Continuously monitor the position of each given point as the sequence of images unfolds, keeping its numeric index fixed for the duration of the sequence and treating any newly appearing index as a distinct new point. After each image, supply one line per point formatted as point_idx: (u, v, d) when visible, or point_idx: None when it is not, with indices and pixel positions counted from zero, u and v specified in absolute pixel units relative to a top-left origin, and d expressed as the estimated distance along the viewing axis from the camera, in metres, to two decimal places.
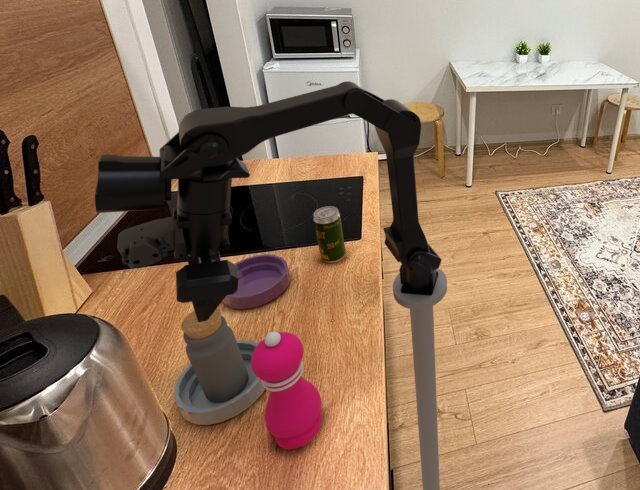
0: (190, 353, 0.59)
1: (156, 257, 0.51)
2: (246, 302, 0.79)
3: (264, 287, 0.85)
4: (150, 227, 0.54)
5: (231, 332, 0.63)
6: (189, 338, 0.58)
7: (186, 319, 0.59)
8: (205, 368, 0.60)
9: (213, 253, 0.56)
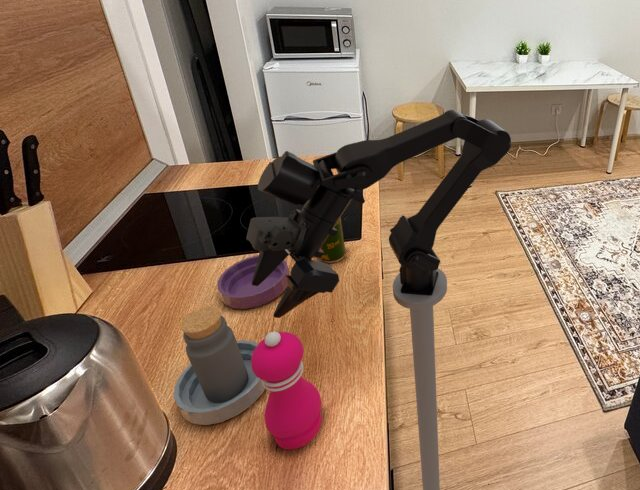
0: (190, 353, 0.59)
1: (287, 245, 0.61)
2: (246, 302, 0.79)
3: (264, 287, 0.85)
4: (276, 221, 0.63)
5: (231, 332, 0.63)
6: (189, 338, 0.58)
7: (186, 319, 0.59)
8: (205, 368, 0.60)
9: (311, 257, 0.66)
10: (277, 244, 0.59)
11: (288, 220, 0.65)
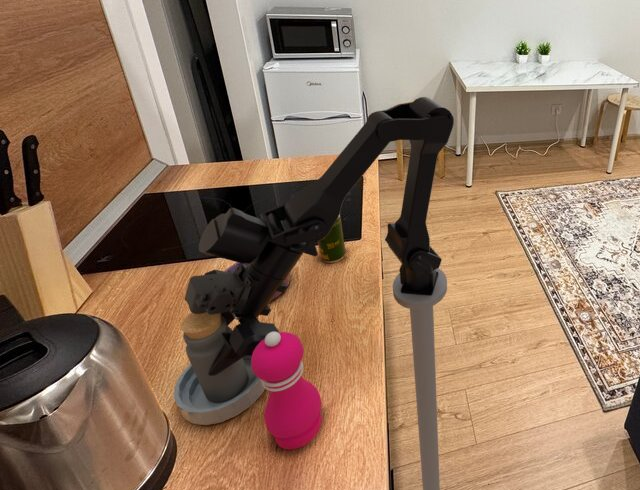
0: (190, 353, 0.59)
1: (227, 307, 0.57)
2: None
3: None
4: (218, 279, 0.60)
5: None
6: (189, 338, 0.58)
7: (186, 319, 0.59)
8: (205, 368, 0.60)
9: (256, 315, 0.63)
10: (215, 308, 0.56)
11: (232, 277, 0.61)
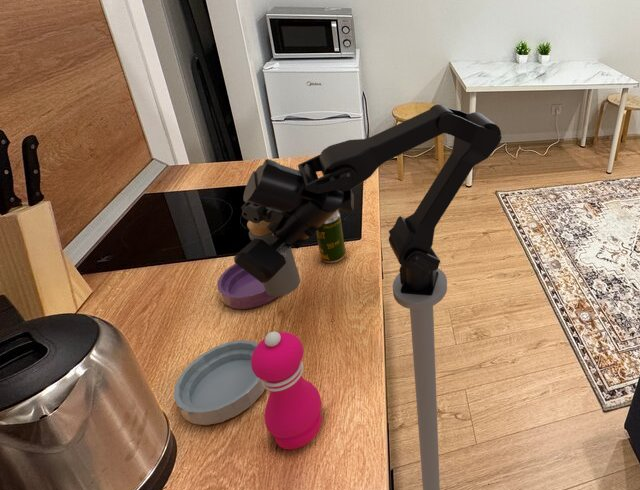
0: None
1: (255, 220, 0.66)
2: (246, 302, 0.79)
3: None
4: None
5: None
6: None
7: None
8: None
9: (287, 243, 0.69)
10: (247, 215, 0.66)
11: None
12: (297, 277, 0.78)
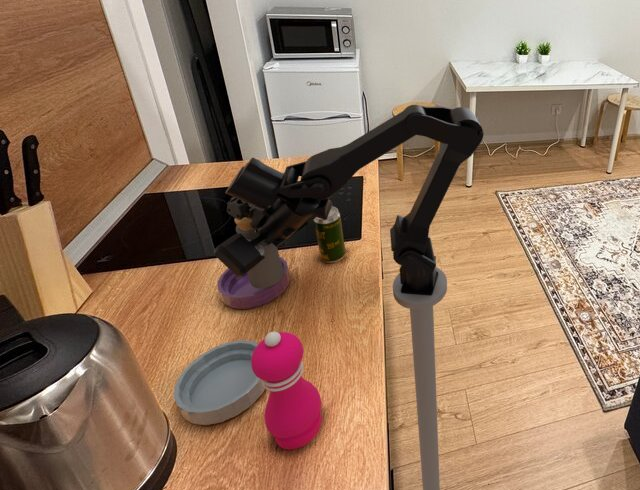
0: None
1: (238, 217, 0.70)
2: (246, 302, 0.79)
3: None
4: None
5: (263, 240, 0.77)
6: None
7: None
8: None
9: (267, 240, 0.73)
10: (231, 211, 0.70)
11: None
12: (280, 272, 0.82)
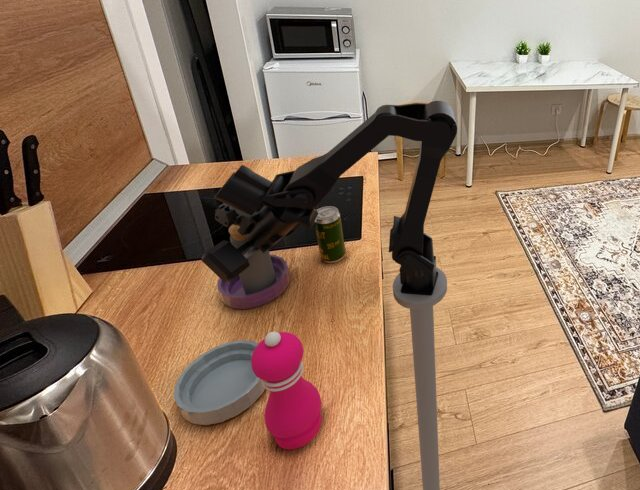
0: None
1: (225, 224, 0.72)
2: (246, 302, 0.79)
3: None
4: None
5: None
6: None
7: None
8: None
9: (254, 246, 0.75)
10: (219, 218, 0.72)
11: None
12: (273, 280, 0.84)
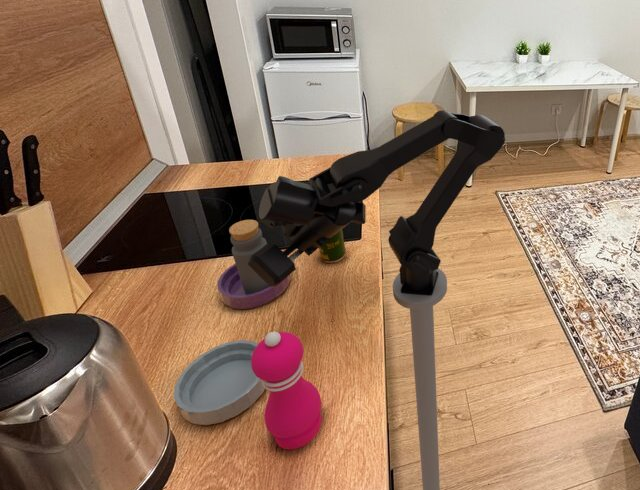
0: None
1: (271, 225, 0.68)
2: (246, 302, 0.79)
3: None
4: None
5: (256, 250, 0.79)
6: None
7: (242, 221, 0.79)
8: None
9: (299, 249, 0.71)
10: (264, 219, 0.68)
11: None
12: None
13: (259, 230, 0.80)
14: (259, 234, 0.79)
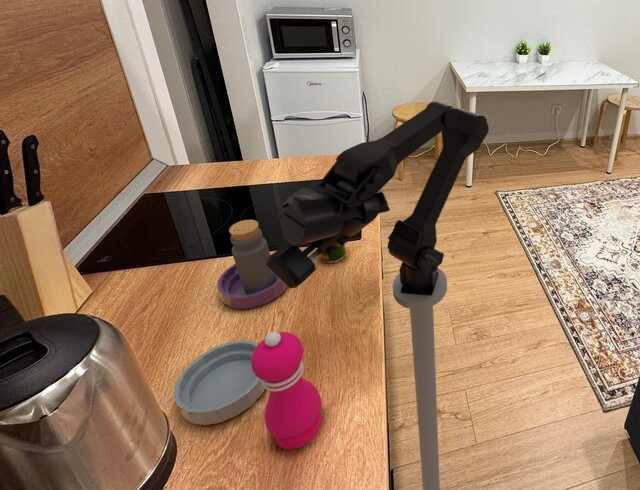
0: None
1: None
2: (246, 302, 0.79)
3: None
4: None
5: (256, 250, 0.79)
6: None
7: (242, 221, 0.79)
8: None
9: (319, 248, 0.68)
10: None
11: None
12: (273, 280, 0.84)
13: (259, 230, 0.80)
14: (259, 234, 0.79)
